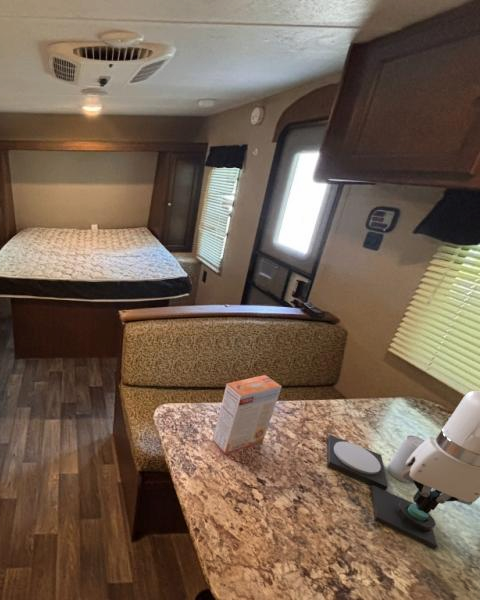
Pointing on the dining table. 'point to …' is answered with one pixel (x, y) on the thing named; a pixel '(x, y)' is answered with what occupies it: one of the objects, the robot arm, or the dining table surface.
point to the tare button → (417, 513)
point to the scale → (356, 462)
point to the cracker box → (245, 413)
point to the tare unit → (401, 517)
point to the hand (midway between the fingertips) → (421, 506)
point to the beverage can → (403, 457)
